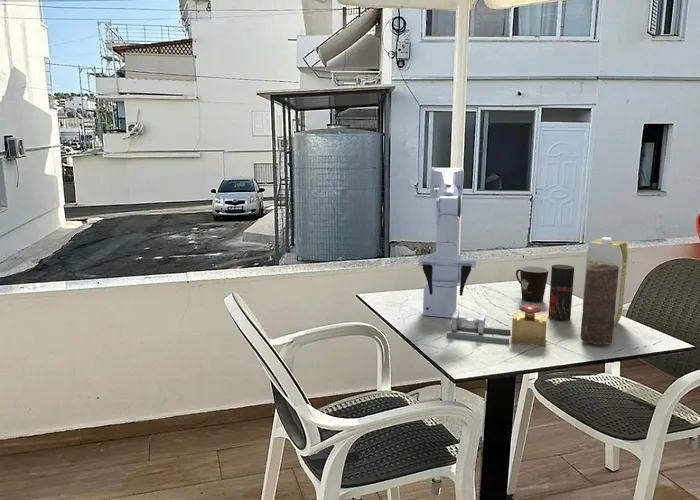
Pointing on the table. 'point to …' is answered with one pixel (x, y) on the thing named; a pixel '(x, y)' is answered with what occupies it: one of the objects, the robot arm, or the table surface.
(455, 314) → the spool
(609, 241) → the juice carton
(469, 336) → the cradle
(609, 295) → the rock core sample
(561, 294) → the deodorant
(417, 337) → the table surface
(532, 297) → the coffee mug
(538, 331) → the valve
